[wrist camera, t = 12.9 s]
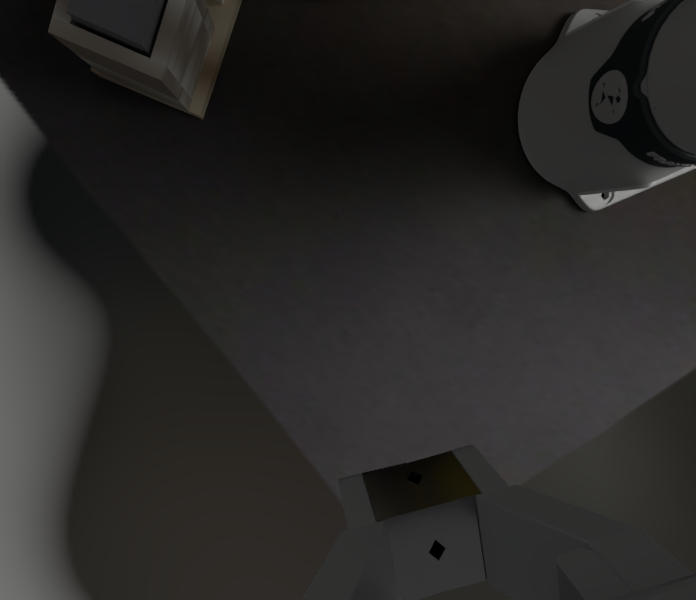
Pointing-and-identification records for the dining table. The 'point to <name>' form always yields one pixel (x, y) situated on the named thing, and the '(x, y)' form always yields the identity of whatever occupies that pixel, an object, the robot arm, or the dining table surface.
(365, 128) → the dining table surface
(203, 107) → the button panel
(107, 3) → the plain button
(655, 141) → the robot arm
